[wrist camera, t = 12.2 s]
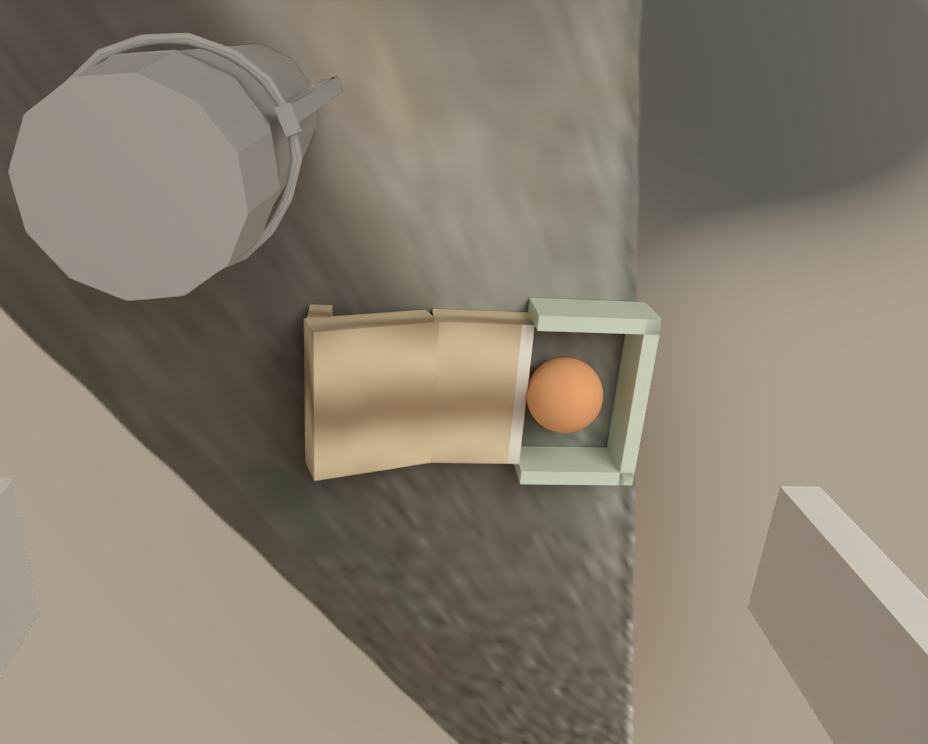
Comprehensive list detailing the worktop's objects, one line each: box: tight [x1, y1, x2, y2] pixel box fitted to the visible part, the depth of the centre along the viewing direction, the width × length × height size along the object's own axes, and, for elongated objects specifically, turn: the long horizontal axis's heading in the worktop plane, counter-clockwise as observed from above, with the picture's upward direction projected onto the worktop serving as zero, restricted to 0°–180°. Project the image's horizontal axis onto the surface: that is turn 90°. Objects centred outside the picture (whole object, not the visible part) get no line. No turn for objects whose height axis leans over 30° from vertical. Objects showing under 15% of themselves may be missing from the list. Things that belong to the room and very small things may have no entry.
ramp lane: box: [304, 304, 535, 481], centre depth 50 cm, size 10×14×5 cm
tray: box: [514, 298, 662, 485], centre depth 52 cm, size 12×8×4 cm, turn 176°
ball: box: [527, 357, 603, 433], centre depth 51 cm, size 5×5×5 cm
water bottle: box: [8, 33, 343, 301], centre depth 33 cm, size 9×8×25 cm
